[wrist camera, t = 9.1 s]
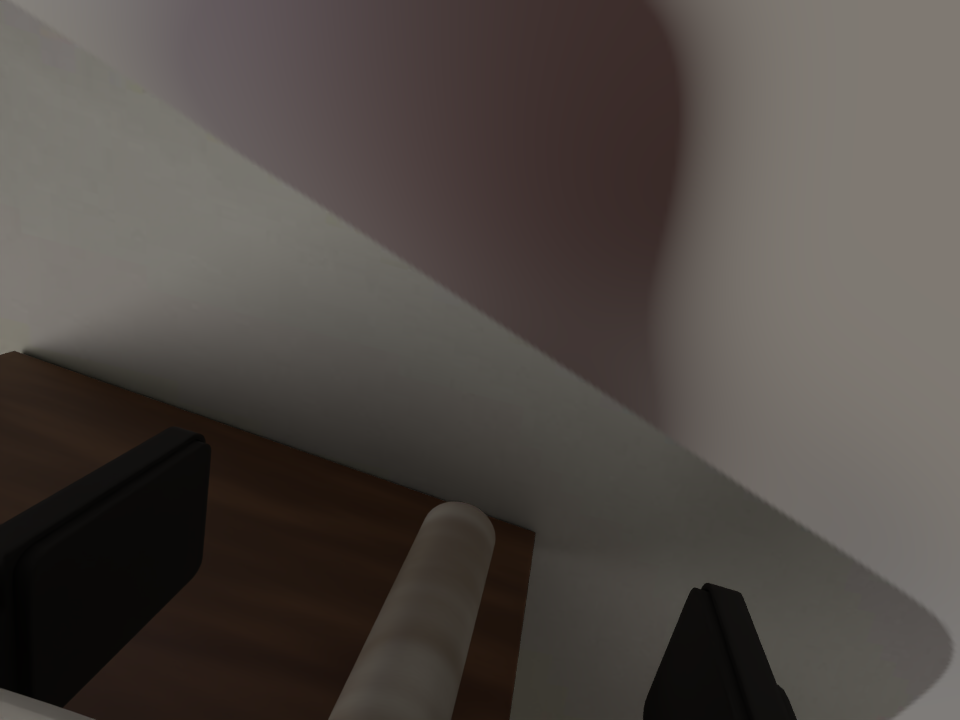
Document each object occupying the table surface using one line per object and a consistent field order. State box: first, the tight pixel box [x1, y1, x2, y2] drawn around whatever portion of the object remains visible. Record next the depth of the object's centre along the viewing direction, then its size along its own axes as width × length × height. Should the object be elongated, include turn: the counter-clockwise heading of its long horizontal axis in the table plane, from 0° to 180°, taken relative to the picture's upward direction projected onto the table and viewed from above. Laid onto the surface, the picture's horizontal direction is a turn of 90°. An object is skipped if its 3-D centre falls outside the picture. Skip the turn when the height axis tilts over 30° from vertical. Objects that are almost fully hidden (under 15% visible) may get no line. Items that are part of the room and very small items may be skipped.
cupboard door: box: [0, 351, 535, 720], centre depth 15 cm, size 7×26×24 cm, turn 74°
